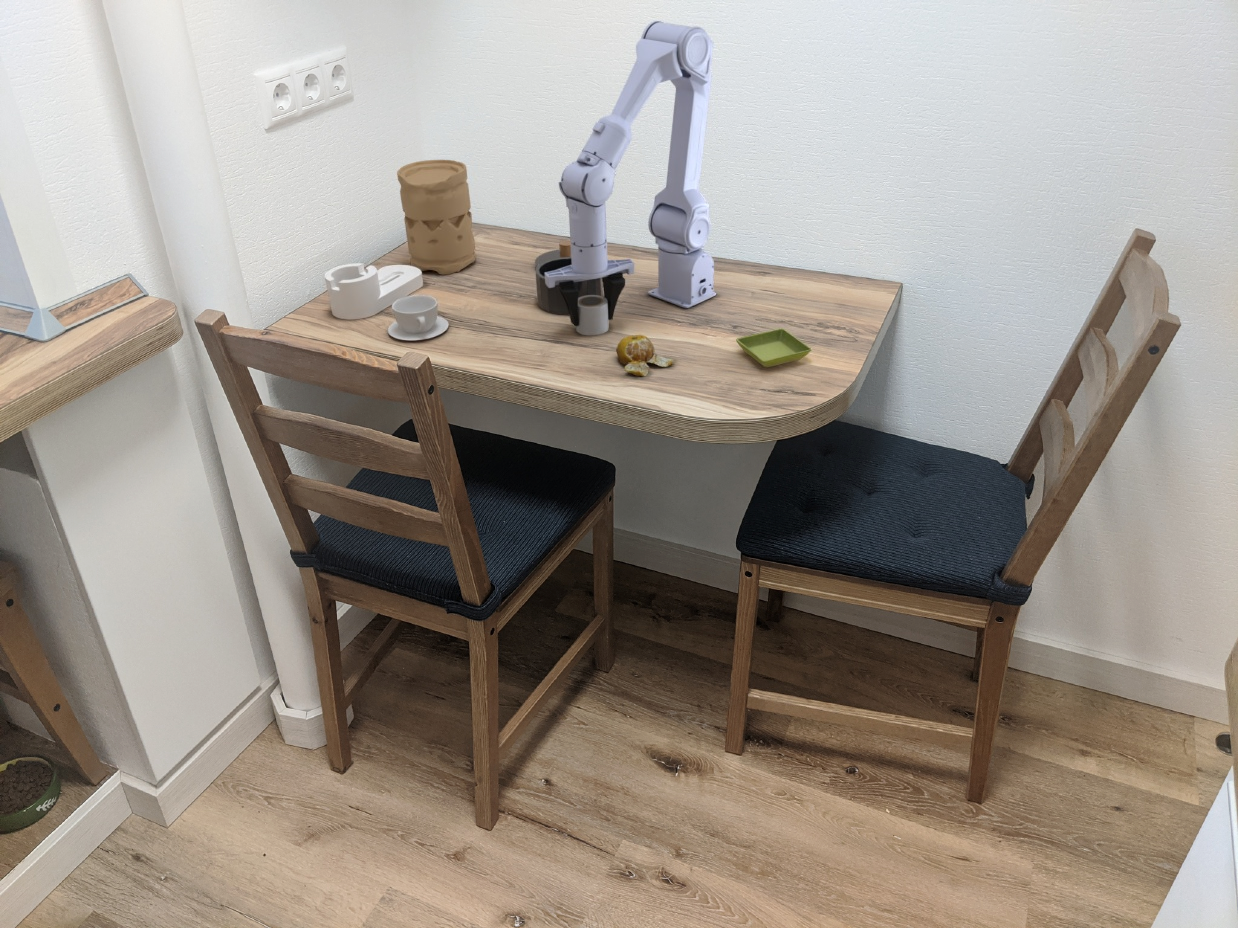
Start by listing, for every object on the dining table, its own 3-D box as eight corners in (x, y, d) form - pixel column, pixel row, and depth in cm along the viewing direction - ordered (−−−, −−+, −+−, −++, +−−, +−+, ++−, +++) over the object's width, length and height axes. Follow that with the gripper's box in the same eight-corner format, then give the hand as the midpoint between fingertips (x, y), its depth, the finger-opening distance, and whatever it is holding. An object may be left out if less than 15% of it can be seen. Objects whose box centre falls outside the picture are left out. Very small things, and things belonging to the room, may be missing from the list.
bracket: (360, 323, 162) (353, 286, 159) (321, 314, 166) (313, 278, 162) (431, 281, 177) (426, 246, 173) (393, 274, 180) (388, 240, 177)
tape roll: (615, 328, 158) (614, 300, 155) (591, 338, 155) (590, 310, 152) (593, 318, 161) (591, 291, 159) (569, 329, 158) (567, 301, 156)
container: (471, 274, 179) (460, 178, 170) (405, 275, 180) (390, 180, 170) (480, 250, 190) (470, 158, 180) (417, 251, 190) (404, 160, 180)
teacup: (382, 324, 162) (378, 298, 159) (440, 313, 165) (436, 287, 162) (395, 347, 154) (391, 321, 151) (455, 335, 157) (452, 309, 154)
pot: (616, 300, 168) (615, 268, 164) (567, 320, 161) (565, 287, 158) (572, 283, 174) (570, 252, 171) (524, 302, 168) (521, 270, 165)
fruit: (633, 379, 143) (633, 357, 141) (602, 359, 148) (601, 338, 146) (677, 364, 146) (677, 342, 144) (645, 345, 152) (645, 324, 150)
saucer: (762, 373, 143) (763, 361, 142) (733, 350, 150) (734, 338, 149) (812, 361, 146) (813, 349, 145) (781, 339, 153) (782, 327, 152)
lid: (612, 264, 182) (611, 241, 179) (564, 283, 175) (563, 259, 172) (569, 249, 189) (568, 227, 187) (522, 266, 182) (520, 243, 180)
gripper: (622, 226, 155) (624, 304, 163) (536, 239, 151) (542, 318, 158) (638, 240, 150) (639, 320, 157) (550, 254, 145) (555, 335, 153)
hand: (592, 320), depth 157 cm, fingers closed on tape roll, 5 cm apart
